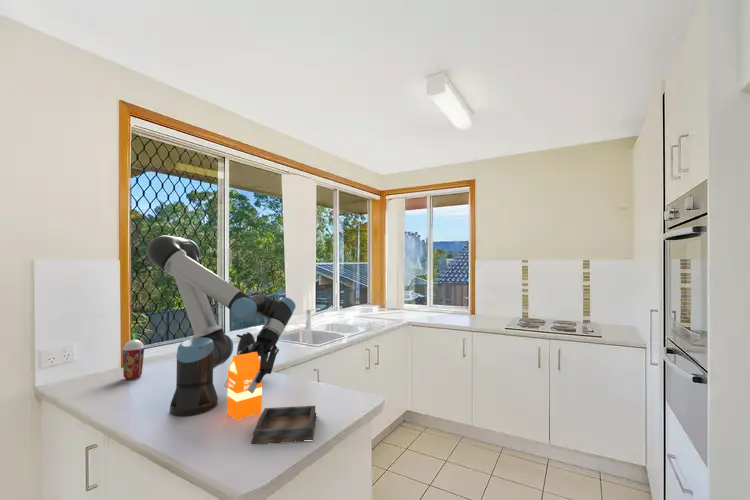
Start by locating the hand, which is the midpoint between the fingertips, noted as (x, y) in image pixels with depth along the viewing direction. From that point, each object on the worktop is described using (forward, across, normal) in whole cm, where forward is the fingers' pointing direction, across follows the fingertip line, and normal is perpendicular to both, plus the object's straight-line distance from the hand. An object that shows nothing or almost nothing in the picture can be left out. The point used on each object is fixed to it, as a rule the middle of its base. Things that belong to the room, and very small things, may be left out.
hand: (238, 389), depth 116 cm
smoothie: (-2, +74, -15) cm, 76 cm away
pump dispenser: (-32, +48, -45) cm, 73 cm away
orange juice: (+4, 0, -9) cm, 10 cm away
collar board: (+7, -21, -6) cm, 23 cm away
